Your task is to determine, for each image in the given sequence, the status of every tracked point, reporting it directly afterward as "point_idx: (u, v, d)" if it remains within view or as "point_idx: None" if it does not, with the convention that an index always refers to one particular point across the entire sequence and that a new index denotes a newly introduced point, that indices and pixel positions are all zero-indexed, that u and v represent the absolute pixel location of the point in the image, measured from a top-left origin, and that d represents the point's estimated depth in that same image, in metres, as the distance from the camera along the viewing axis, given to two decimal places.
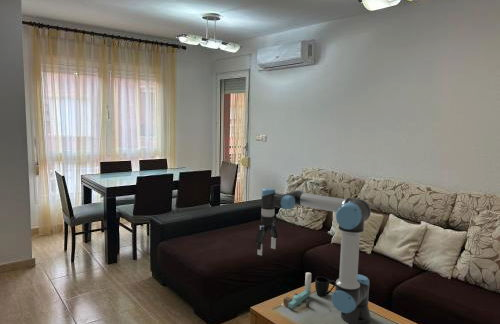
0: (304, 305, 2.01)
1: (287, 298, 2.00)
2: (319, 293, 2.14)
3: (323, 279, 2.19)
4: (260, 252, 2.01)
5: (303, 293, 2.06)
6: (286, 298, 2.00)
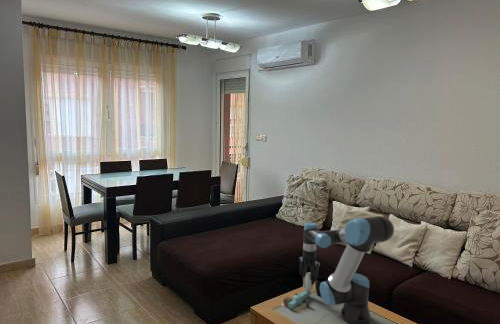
0: (304, 305, 2.01)
1: (287, 298, 2.00)
2: (319, 293, 2.14)
3: (323, 279, 2.19)
4: None
5: (303, 293, 2.06)
6: (286, 298, 2.00)
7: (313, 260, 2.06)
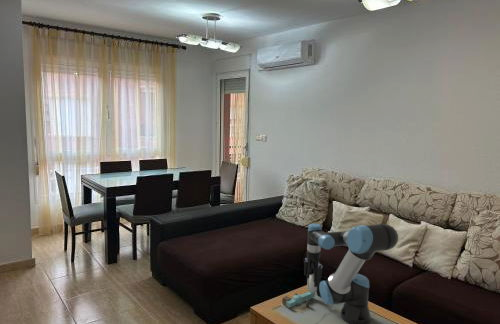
0: (304, 305, 2.01)
1: (286, 297, 2.01)
2: (319, 293, 2.14)
3: (323, 279, 2.19)
4: None
5: (305, 294, 2.05)
6: (285, 297, 2.01)
7: (316, 262, 2.04)
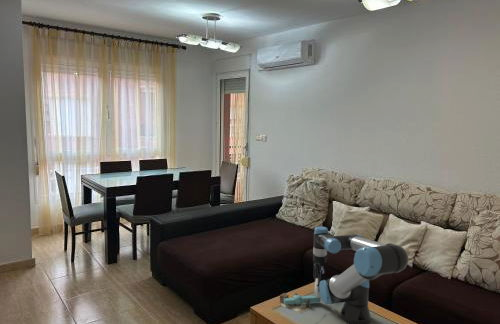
0: (304, 305, 2.01)
1: (283, 295, 2.04)
2: None
3: None
4: None
5: (308, 297, 2.02)
6: (282, 294, 2.04)
7: (319, 266, 1.98)
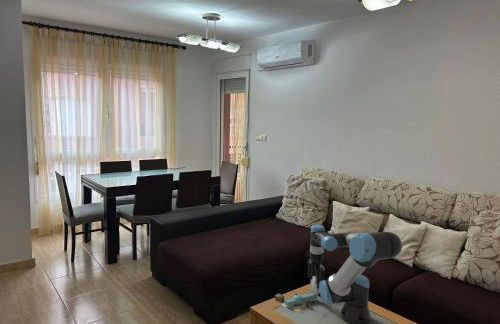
0: (304, 305, 2.01)
1: None
2: (319, 293, 2.14)
3: None
4: None
5: (307, 295, 2.04)
6: None
7: (318, 263, 2.01)
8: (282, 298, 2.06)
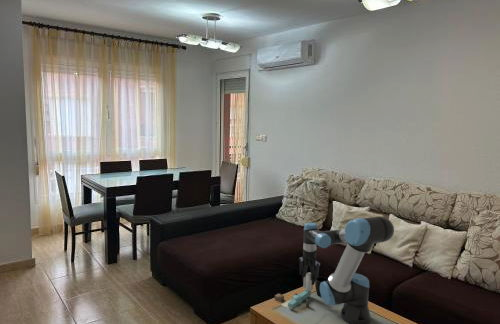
0: (304, 305, 2.01)
1: None
2: (319, 293, 2.14)
3: (323, 279, 2.19)
4: None
5: (303, 293, 2.06)
6: None
7: (313, 260, 2.06)
8: (282, 298, 2.06)
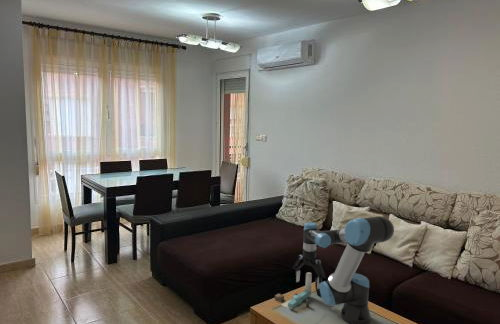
0: (304, 305, 2.01)
1: None
2: (319, 293, 2.14)
3: (323, 279, 2.19)
4: None
5: (303, 293, 2.06)
6: None
7: (313, 260, 2.06)
8: (282, 298, 2.06)
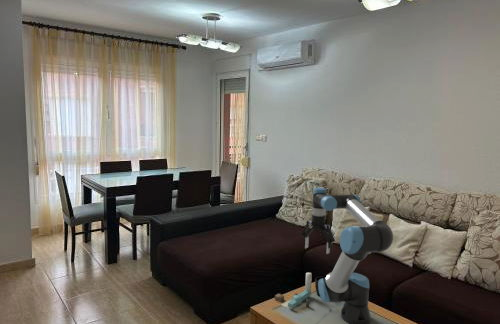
0: (304, 305, 2.01)
1: None
2: None
3: None
4: None
5: (303, 293, 2.06)
6: None
7: (322, 225, 2.05)
8: (282, 298, 2.06)
